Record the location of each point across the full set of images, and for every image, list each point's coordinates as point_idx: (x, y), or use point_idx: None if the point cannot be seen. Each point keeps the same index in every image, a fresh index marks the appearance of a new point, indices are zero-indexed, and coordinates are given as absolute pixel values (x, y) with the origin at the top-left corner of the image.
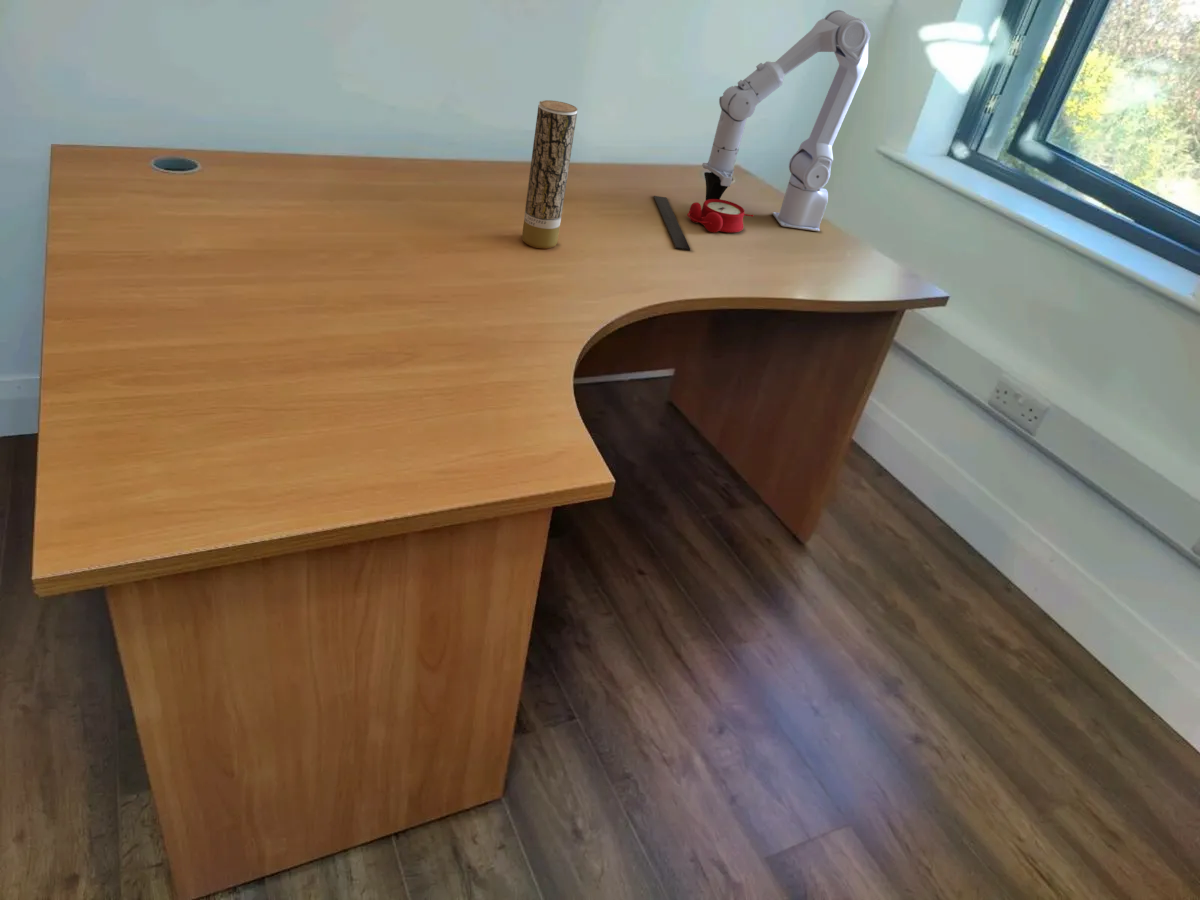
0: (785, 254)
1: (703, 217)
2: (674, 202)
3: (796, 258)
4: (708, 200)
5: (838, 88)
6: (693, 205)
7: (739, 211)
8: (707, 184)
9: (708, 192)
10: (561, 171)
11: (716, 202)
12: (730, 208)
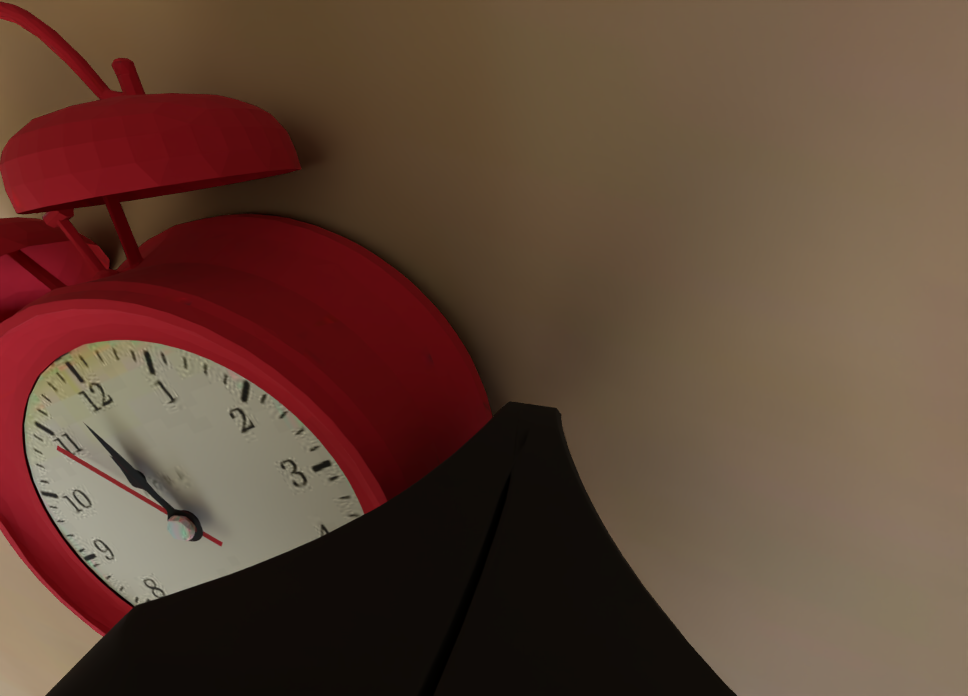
0: (42, 628)
1: (148, 253)
2: (890, 38)
3: (29, 654)
4: (322, 416)
5: None
6: (66, 108)
7: None
8: (414, 570)
9: (403, 491)
10: None
11: (359, 512)
12: None
